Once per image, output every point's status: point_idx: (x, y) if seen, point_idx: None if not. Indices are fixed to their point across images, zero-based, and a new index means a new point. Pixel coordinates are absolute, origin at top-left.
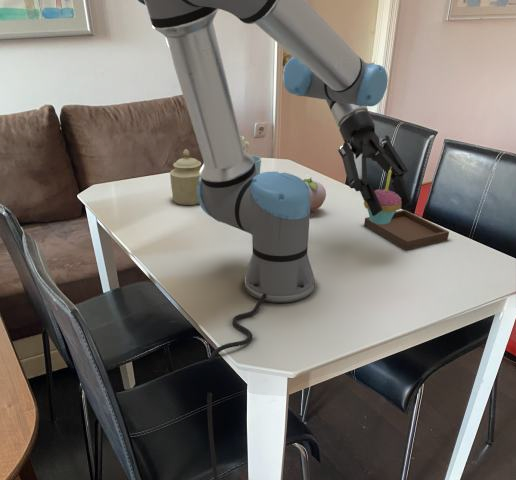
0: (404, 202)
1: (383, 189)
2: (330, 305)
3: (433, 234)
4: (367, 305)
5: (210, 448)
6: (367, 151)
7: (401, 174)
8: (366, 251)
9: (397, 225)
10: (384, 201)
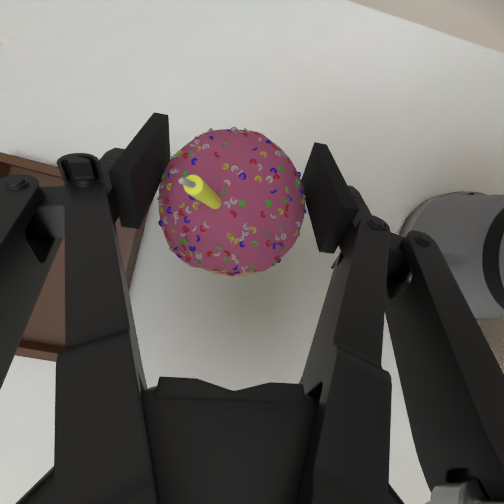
0: (165, 147)
1: (206, 226)
2: (431, 150)
3: (46, 169)
4: (388, 106)
5: None
6: (285, 417)
7: (99, 168)
8: None
9: (47, 295)
10: (282, 158)
